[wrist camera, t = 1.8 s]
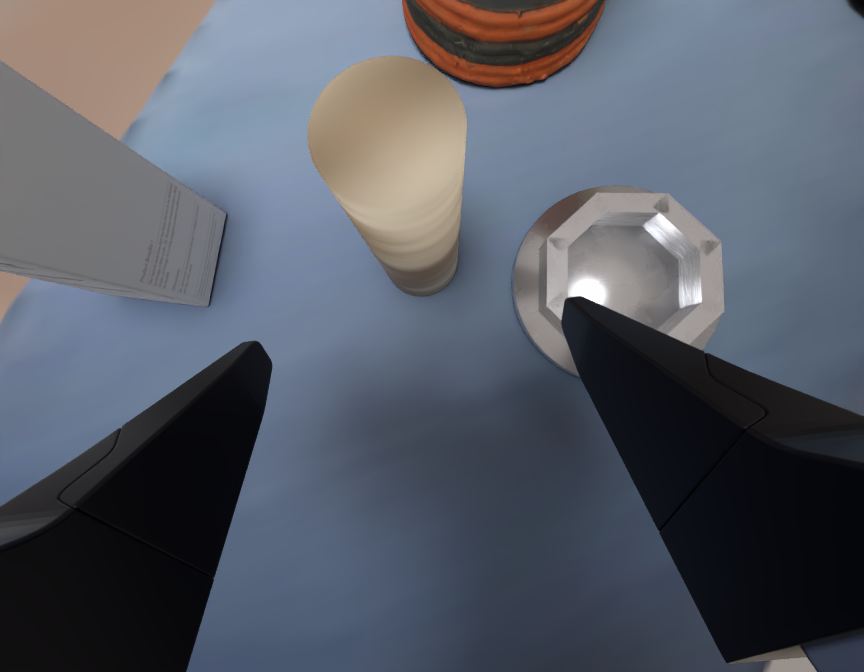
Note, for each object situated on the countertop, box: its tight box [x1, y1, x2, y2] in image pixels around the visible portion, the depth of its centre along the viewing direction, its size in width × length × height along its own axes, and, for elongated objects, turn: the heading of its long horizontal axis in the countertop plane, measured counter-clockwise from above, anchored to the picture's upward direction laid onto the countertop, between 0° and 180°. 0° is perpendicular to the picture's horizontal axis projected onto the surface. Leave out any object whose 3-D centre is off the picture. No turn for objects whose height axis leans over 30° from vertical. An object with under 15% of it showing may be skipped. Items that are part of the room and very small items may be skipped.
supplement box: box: [0, 60, 226, 307], centre depth 17 cm, size 7×7×13 cm
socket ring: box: [512, 186, 725, 377], centre depth 20 cm, size 13×13×3 cm
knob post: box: [308, 56, 467, 296], centre depth 16 cm, size 5×5×12 cm
